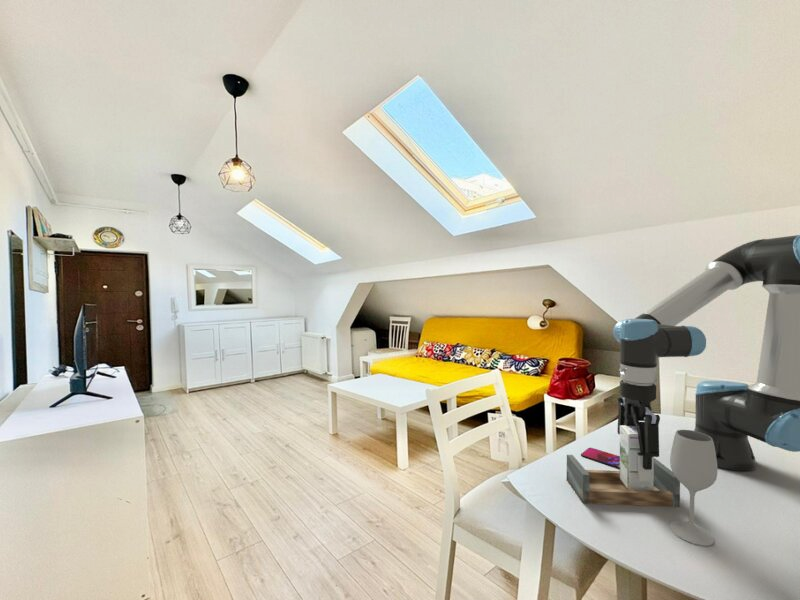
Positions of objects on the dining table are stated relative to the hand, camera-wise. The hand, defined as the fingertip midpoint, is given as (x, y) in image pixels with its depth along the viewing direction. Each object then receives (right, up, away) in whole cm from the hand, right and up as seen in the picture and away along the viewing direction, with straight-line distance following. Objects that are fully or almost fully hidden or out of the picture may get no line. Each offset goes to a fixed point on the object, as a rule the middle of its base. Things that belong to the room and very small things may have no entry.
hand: (636, 472), depth 89 cm
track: (-4, -5, 0) cm, 7 cm away
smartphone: (+4, -5, +17) cm, 18 cm away
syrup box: (0, -4, 0) cm, 4 cm away
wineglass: (+2, -6, -14) cm, 16 cm away
